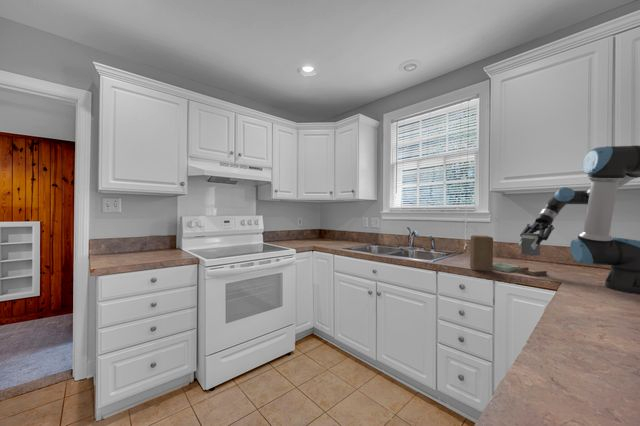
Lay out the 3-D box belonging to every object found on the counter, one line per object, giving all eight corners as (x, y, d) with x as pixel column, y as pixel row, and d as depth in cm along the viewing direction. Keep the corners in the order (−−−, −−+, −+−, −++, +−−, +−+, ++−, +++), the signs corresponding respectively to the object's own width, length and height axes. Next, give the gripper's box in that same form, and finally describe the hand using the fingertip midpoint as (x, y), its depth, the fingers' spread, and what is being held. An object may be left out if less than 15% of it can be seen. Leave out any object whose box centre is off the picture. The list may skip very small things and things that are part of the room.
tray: (519, 270, 165) (520, 266, 165) (505, 272, 160) (505, 267, 160) (499, 266, 176) (500, 262, 176) (485, 267, 172) (485, 263, 172)
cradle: (546, 274, 155) (546, 271, 155) (534, 276, 151) (534, 272, 151) (526, 270, 164) (526, 267, 164) (515, 271, 161) (515, 268, 161)
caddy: (539, 255, 157) (540, 233, 157) (532, 255, 155) (532, 234, 155) (528, 253, 162) (528, 233, 162) (521, 254, 160) (521, 233, 160)
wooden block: (473, 270, 163) (474, 236, 163) (469, 267, 172) (470, 235, 172) (493, 272, 160) (493, 237, 160) (488, 268, 170) (488, 235, 169)
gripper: (567, 223, 155) (548, 254, 149) (531, 222, 173) (512, 249, 167) (561, 213, 153) (541, 244, 147) (525, 213, 171) (506, 240, 165)
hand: (526, 247), depth 157 cm, fingers closed on caddy, 6 cm apart
